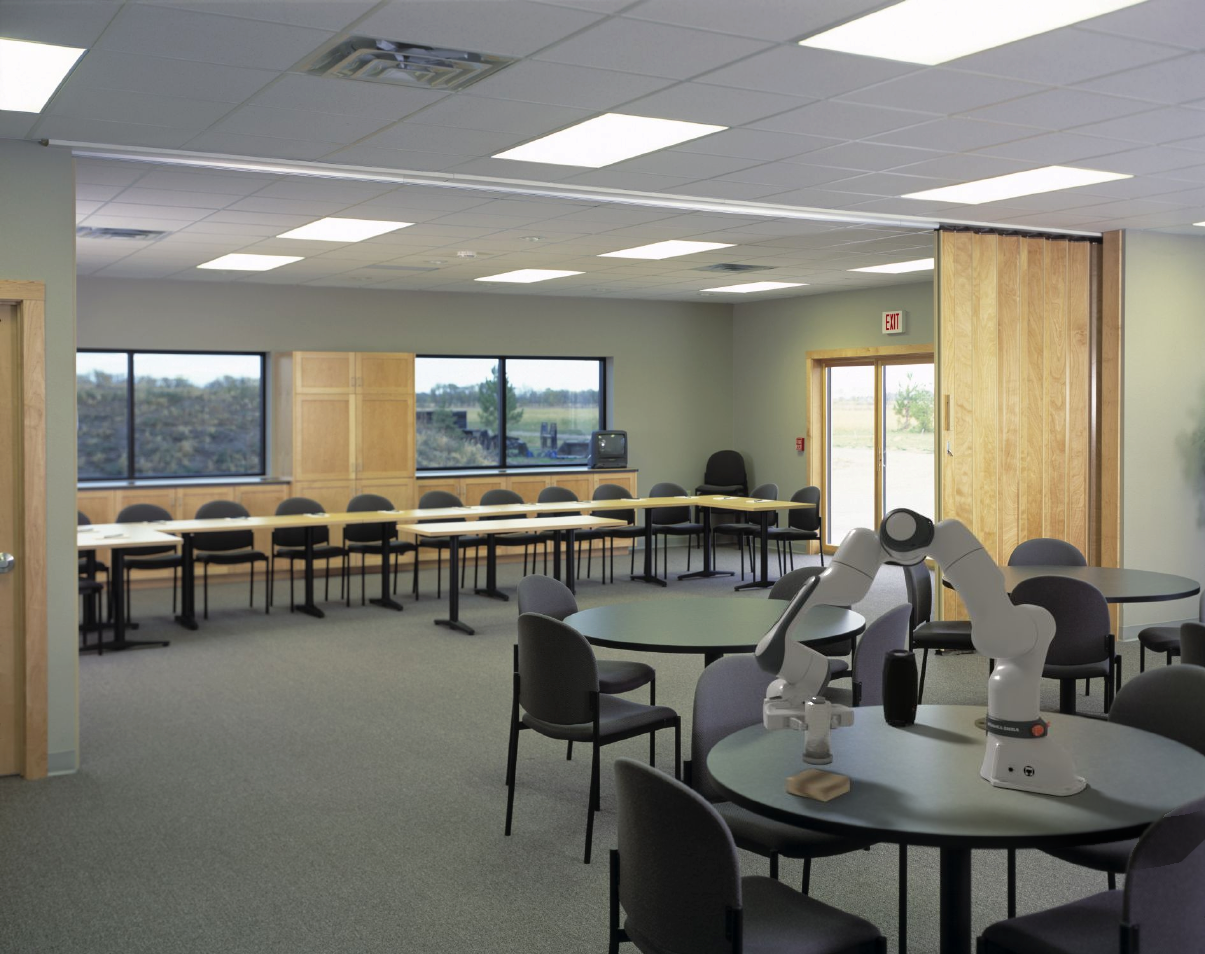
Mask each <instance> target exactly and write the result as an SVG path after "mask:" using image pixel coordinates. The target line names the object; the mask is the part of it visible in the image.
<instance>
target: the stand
mask: <svg viewBox="0 0 1205 954" xmlns="http://www.w3.org/2000/svg"><path fill="white" fill-rule="evenodd" d="M850 779H851V778H850V776H847V775H843V774H842V775H841V774H838V773H832V772H829V771H824V770H820V769H816V768H812V767H810V768H809V769H806V770H803V771H801V772H799V773H796V774H794V775H792V776H789V777H786V779H785V792H786V793H787V794H788V793H789V794H792V795H797V796H801V797H805V798H810V799H813V800H817V801H819V802H821V801H822V802H825V803H826V802H828V801H830V800H833V799H834V798H835V799H836V798H837V797H840V796H841V795H843V794H845V793H848V792H850V791H851V789H850V784H851V783H850V781H851V780H850Z"/></svg>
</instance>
